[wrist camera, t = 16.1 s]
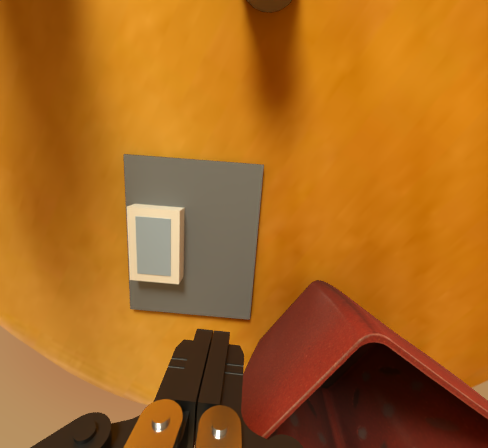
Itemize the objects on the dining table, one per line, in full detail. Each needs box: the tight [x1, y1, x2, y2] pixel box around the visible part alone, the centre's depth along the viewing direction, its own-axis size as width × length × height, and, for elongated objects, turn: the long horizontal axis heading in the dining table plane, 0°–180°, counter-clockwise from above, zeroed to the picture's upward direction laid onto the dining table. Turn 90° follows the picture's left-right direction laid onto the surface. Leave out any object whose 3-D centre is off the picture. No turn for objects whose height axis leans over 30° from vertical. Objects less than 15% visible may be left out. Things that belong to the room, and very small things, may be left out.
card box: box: [127, 204, 185, 284], centre depth 31 cm, size 9×2×6 cm
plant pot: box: [241, 280, 488, 448], centre depth 27 cm, size 19×19×17 cm
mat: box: [124, 154, 264, 320], centre depth 32 cm, size 20×16×1 cm
